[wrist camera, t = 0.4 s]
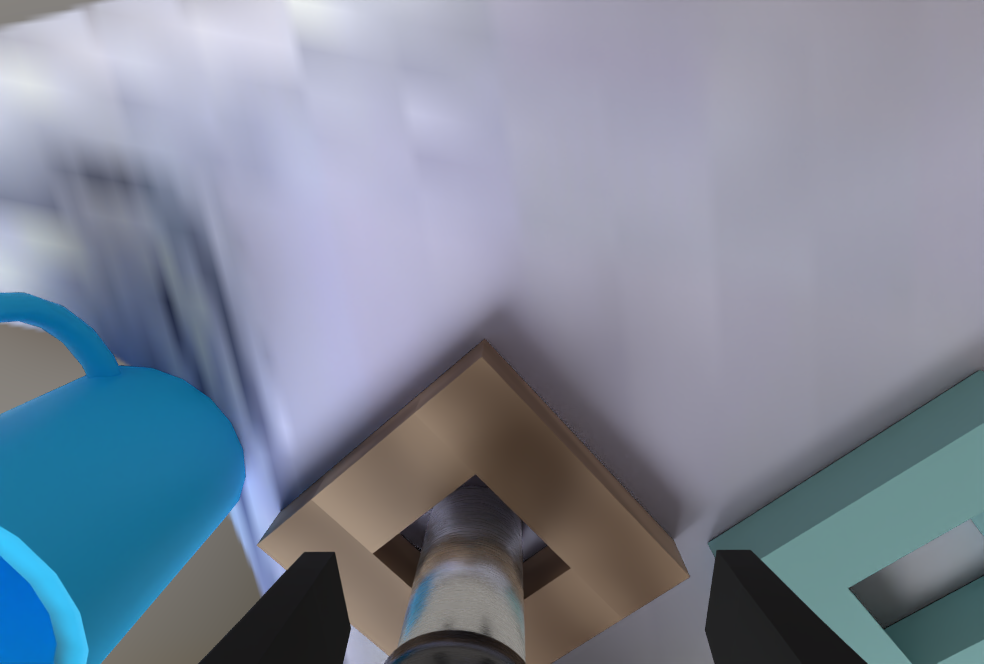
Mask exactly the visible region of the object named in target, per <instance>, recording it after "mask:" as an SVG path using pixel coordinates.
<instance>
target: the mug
mask: <svg viewBox="0 0 984 664" xmlns="http://www.w3.org/2000/svg"><path fill="white" fill-rule="evenodd" d="M13 321H20V322H23V323H27V324H30V325H34V326H37V327H40V328H42V329H43V330H45V331H46V332H48V333H49V334H51V335H52V336H54V337H55V338H57V339H58V340H59V341H61V342H62V343H63V344H64V345H65V346H66V347H67V348H68V350H69V351H70V352H71V353H72V354H73V356H74V357H75V358H76V359H77V360H78V362H79V363H80V364H81V365H82V367H83V369H84V370H85V373H86V375H85V376H83V377H81V378H79V379H77V380H74V381H72V382H70V383H68V384H66V385H63V386H61V387H59V388H57V389H55V390H53V391H50V392H48V393H46V394H44V395H41V396H39V397H37V398H35V399H33V400H30V401H28V402H26V403H24V404H22V405H19V406H17V407H15V408H13V409H11V410H8V411H6V412H4V413H2V414H0V664H101V663H102V661H103V660H104V659H105V658H106V657H107V655H108V654H109V653H110V652H111V651H112V650H113V649H114V647H115V646H116V645H117V644H118V643H119V642H120V640H121V639H122V638H123V637H124V636H125V635H126V633H127V632H128V631H129V630H130V629H131V627H132V626H133V625H134V624H135V623H136V622H137V620H138V619H139V618H140V617H141V616H142V614H143V613H144V612H145V611H146V610H147V609H148V607H149V606H150V605H151V604H152V603H153V602H154V600H155V599H156V598H157V597H158V596H159V595H160V593H161V592H162V591H163V590H164V589H165V588H166V586H167V585H168V584H169V583H170V582H171V581H172V579H173V578H174V577H175V576H176V575H177V574H178V572H179V571H180V570H181V569H182V568H183V566H184V565H185V564H186V563H187V562H188V561H189V559H190V558H191V557H192V556H193V555H194V554H195V552H196V551H197V550H198V549H199V548H200V547H201V545H202V544H203V543H204V542H205V541H206V540H207V538H208V537H209V536H210V535H211V534H212V532H213V531H214V530H215V529H216V528H217V527H218V525H219V524H220V523H221V522H222V521H223V519H224V518H225V517H226V516H227V515H228V513H229V512H230V511H231V510H232V508H233V507H234V506H235V505H236V503H237V502H238V501H239V498H240V495H241V491H242V488H243V484H244V481H245V477H246V475H245V464H244V453H243V448H242V446H241V444H240V442H239V439H238V437H237V435H236V433H235V430H234V428H233V426H232V424H231V422H230V421H229V420H228V419H227V417H226V416H225V415H224V414H223V413H222V412H221V410H220V409H219V408H218V407H217V406H216V404H215V403H214V402H213V401H212V400H211V399H210V398H209V397H208V396H206V395H205V394H203V393H202V392H200V391H199V390H198V389H196V388H195V387H193V386H192V385H190V384H189V383H188V382H186V381H185V380H183V379H181V378H178V377H175V376H172V375H170V374H167V373H164V372H162V371H159V370H156V369H153V368H146V367H133V366H125V365H120V366H118V363H117V361H116V359H115V357H114V355H113V354H112V352H111V351H110V350H109V349H108V347H107V346H106V345H105V343H104V342H103V341H102V340H101V338H100V337H99V336H98V334H97V333H96V332H95V330H94V329H93V328H92V327H90V326H89V325H88V324H86V323H85V322H84V321H82V320H81V319H80V318H78V317H77V316H76V315H74V314H73V313H72V312H70V311H69V310H68V309H66V308H65V307H64V306H62V305H59V304H56V303H53V302H50V301H47V300H45V299H42V298H39V297H36V296H33V295H30V294H27V293H21V292H15V293H0V322H13Z"/></svg>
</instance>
